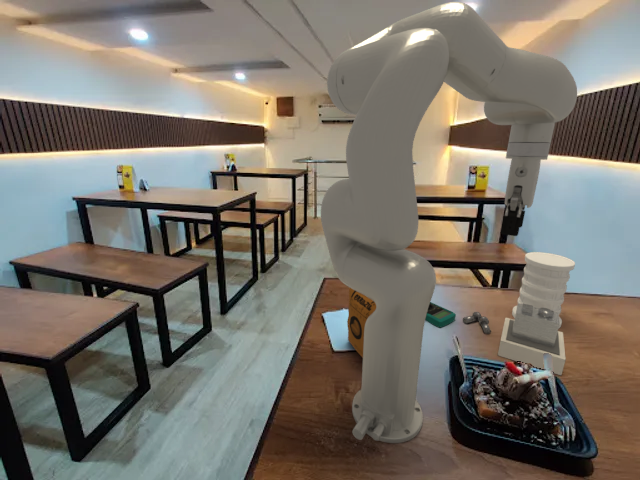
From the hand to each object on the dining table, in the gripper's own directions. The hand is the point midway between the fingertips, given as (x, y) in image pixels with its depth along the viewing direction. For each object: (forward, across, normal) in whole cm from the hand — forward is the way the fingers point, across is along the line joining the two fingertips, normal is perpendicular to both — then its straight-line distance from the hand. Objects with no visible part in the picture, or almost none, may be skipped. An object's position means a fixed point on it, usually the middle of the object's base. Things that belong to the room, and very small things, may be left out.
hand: (511, 230), depth 71 cm
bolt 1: (+28, +6, +6) cm, 30 cm away
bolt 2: (+28, +4, +2) cm, 29 cm away
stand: (+28, 0, -8) cm, 29 cm away
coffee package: (+29, -22, +22) cm, 43 cm away
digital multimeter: (+29, +4, +17) cm, 34 cm away
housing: (+24, 0, -8) cm, 25 cm away
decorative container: (+28, +18, -9) cm, 35 cm away
